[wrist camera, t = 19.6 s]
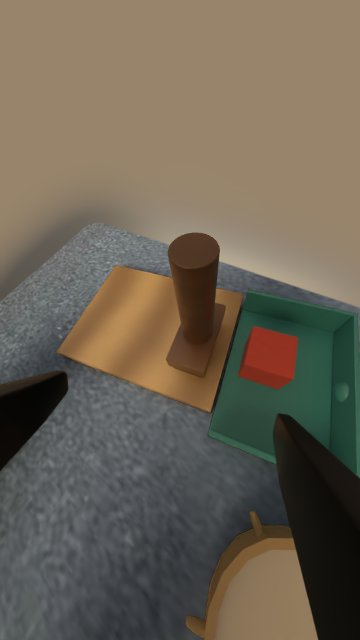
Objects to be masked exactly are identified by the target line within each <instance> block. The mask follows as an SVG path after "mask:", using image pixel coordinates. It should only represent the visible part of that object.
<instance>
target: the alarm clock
mask: <svg viewBox="0 0 360 640" xmlns="http://www.w3.org/2000/svg"><path fill="white" fill-rule="evenodd" d="M250 517H251V522H252V526H253V528H252V529H250V530H248V531H245V532H243V533H241V534H239V535H238V536H237V537H236V538H235V539H234V541H233V542H232V543H231V544H230V545H229V546H228V547H227V549H226V550H225V551H224V552H223V553H222V555H221V557H220V560H219V562H218V564H217V567H216V569H215V572H214V574H213V576H212V579H211V581H210V586H209V593H208V600H207V607H206V613H205V620H202V619H200V618H198V617H196V616H190V615H187V618H186V626H187V627H188V628H189V629H190V630H191V631H192V632H194V633H195V634H197V635H199V636H201V637H203V638H204V640H318V637H317V633H316V629H315V625H314V621H313V617H312V613H311V609H310V605H309V601H308V597H307V593H306V589H305V585H304V581H303V577H302V573H301V569H300V564H299V560H298V556H297V552H296V548H295V544H294V540H293V536H292V532H291V528H289V527H287V526H284V525H261V523H260V520H259V518H258V516H257V514H256V512H255V511H251V512H250Z"/></svg>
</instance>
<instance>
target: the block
mask: <svg viewBox="0 0 360 640" xmlns="http://www.w3.org/2000/svg"><path fill="white" fill-rule="evenodd" d="M297 343H298V337H294V336H290V335H286V334H282V333H279V332H275V331H271V330H267V329H263V328H259V327H256V326H253V327H252V330H251V332H250V334H249V336H248V339H247V341H246V343H245V347H244V352H243V356H242V360H241V364H240V368H239V373H238V377H241V378H245V379H248V380H251V381H254V382H257V383H260V384H263V385H266V386H269V387H272V388H275V389H280V388H281V387H283V386H284V385H286V384H287V383H289V382H290V381H292V380H293V379H294V370H295V361H296V352H297Z"/></svg>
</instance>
